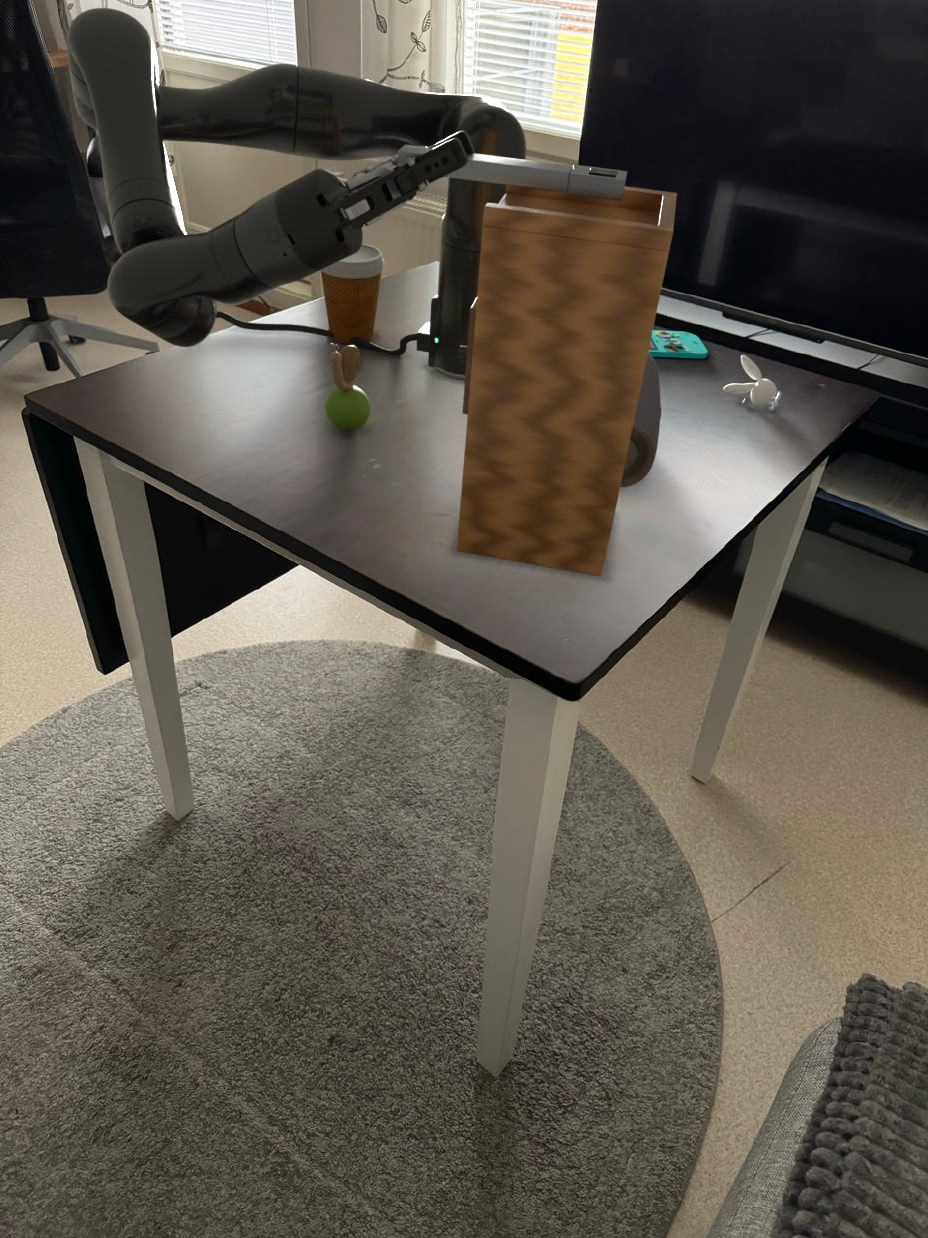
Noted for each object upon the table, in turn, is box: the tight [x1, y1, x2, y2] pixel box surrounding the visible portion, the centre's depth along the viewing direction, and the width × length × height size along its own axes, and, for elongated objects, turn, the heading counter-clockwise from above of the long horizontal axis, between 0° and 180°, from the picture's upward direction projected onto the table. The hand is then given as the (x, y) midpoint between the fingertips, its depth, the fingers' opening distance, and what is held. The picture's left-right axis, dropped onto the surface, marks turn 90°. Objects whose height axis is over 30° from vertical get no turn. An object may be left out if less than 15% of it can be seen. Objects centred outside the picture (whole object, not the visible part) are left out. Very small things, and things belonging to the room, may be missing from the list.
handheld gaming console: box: [649, 329, 708, 359], centre depth 139 cm, size 8×1×15 cm
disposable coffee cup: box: [320, 243, 386, 345], centre depth 131 cm, size 10×10×12 cm
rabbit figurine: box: [723, 354, 782, 412], centre depth 125 cm, size 6×4×8 cm
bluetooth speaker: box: [620, 351, 662, 489], centre depth 110 cm, size 23×9×10 cm, turn 170°
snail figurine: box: [324, 342, 371, 432], centre depth 108 cm, size 5×6×12 cm
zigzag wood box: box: [456, 185, 678, 577], centre depth 87 cm, size 17×12×34 cm
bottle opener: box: [398, 145, 628, 201], centre depth 76 cm, size 19×3×2 cm, turn 78°
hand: (465, 146), depth 76 cm, fingers closed on bottle opener, 2 cm apart
